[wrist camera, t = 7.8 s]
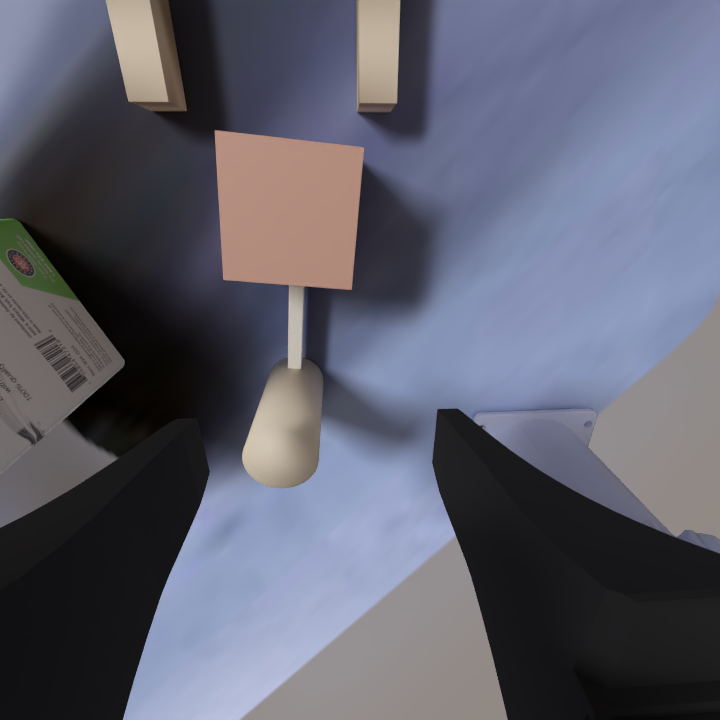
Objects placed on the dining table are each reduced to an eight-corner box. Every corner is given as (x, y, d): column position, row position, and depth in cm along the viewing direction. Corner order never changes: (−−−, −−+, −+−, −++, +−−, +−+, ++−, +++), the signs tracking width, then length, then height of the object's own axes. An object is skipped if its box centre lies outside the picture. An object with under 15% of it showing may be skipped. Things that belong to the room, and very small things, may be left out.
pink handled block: (336, 406, 23) (337, 489, 17) (254, 402, 22) (222, 486, 16) (356, 157, 17) (368, 140, 11) (247, 145, 17) (193, 120, 11)
